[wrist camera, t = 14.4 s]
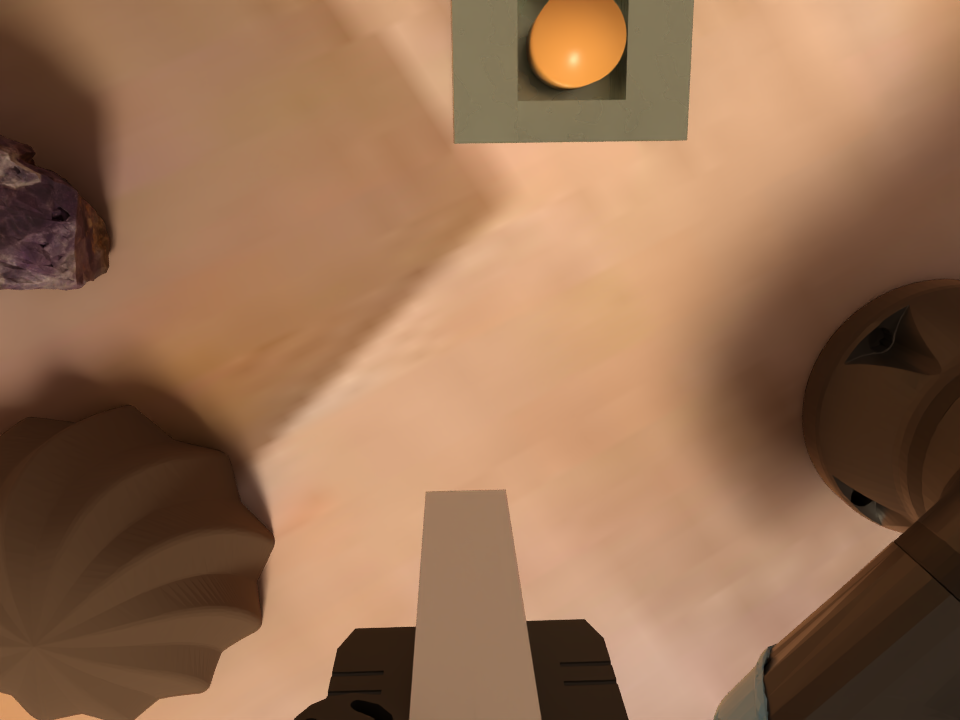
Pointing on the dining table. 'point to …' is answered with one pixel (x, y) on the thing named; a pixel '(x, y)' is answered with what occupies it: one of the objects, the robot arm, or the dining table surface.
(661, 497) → the dining table surface
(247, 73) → the dining table surface
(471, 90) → the green square holder
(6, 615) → the decorative dome
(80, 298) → the dining table surface
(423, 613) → the robot arm
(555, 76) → the orange rounded piece
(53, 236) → the rock
